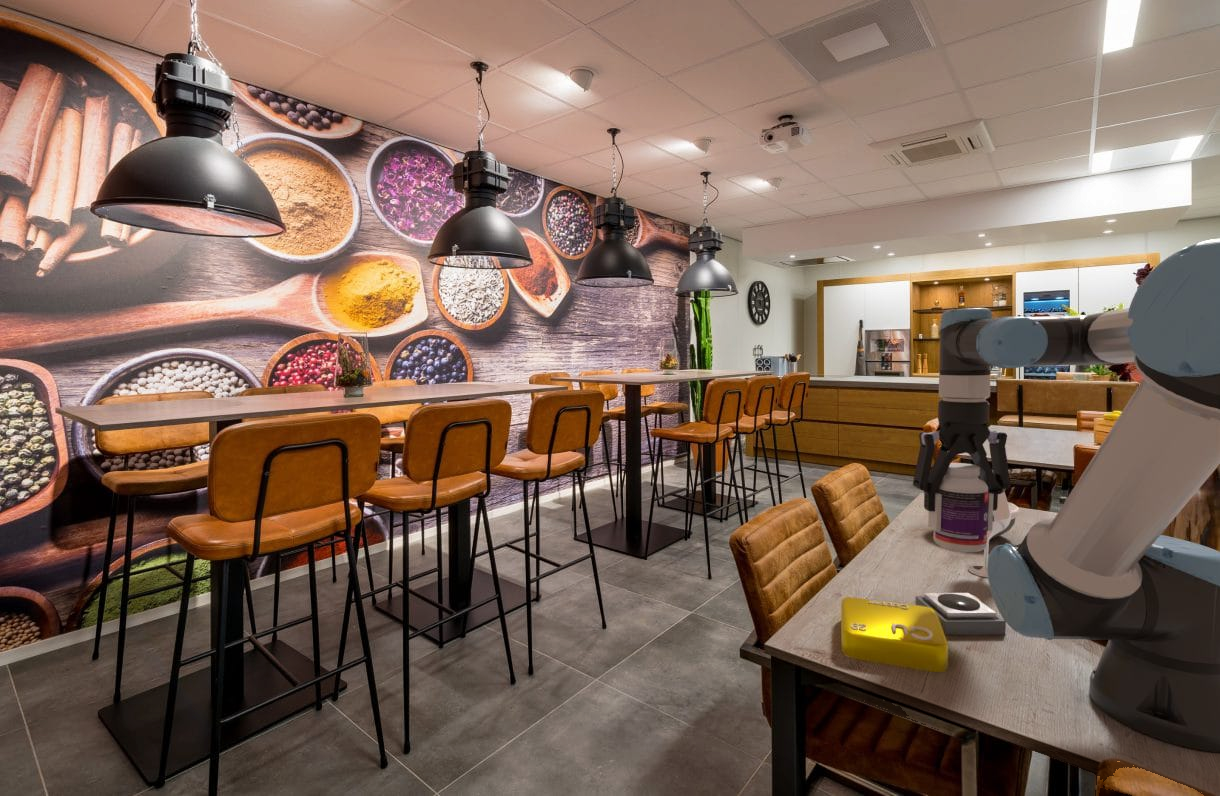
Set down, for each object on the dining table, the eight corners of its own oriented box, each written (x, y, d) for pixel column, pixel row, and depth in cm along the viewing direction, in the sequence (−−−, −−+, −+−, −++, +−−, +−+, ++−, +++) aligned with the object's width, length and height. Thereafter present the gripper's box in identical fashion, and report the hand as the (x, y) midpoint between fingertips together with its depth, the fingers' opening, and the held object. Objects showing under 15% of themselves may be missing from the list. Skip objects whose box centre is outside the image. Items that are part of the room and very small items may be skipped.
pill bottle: (995, 555, 96) (998, 471, 95) (942, 553, 98) (944, 470, 96) (974, 539, 104) (977, 461, 103) (926, 537, 105) (928, 460, 104)
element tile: (934, 630, 99) (935, 603, 99) (949, 676, 85) (950, 646, 85) (841, 617, 105) (841, 592, 104) (841, 659, 91) (841, 630, 91)
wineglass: (969, 578, 120) (971, 493, 119) (958, 563, 128) (960, 484, 126) (1015, 581, 118) (1017, 495, 116) (1000, 567, 125) (1003, 486, 124)
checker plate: (995, 624, 97) (996, 611, 97) (947, 624, 98) (947, 611, 97) (968, 603, 105) (968, 591, 105) (923, 603, 106) (924, 592, 105)
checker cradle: (1005, 634, 96) (1005, 618, 96) (944, 635, 97) (945, 618, 97) (970, 608, 106) (970, 593, 106) (915, 608, 107) (915, 593, 106)
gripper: (1011, 396, 102) (1006, 521, 104) (891, 398, 103) (889, 522, 105) (1041, 400, 94) (1035, 534, 96) (912, 402, 95) (909, 536, 97)
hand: (959, 528), depth 100 cm, fingers closed on pill bottle, 8 cm apart
